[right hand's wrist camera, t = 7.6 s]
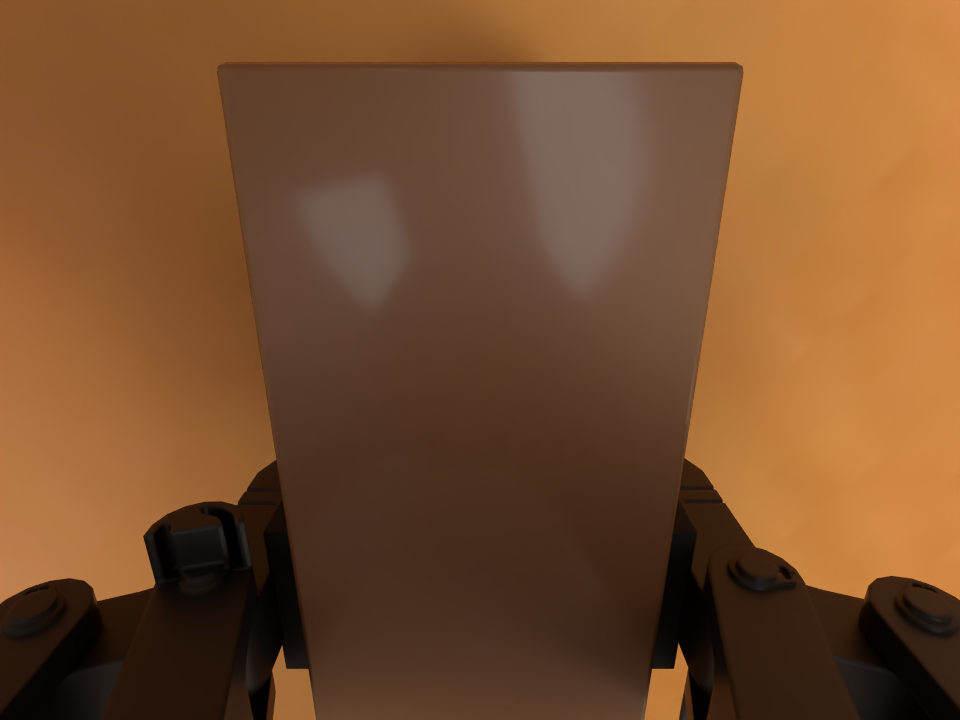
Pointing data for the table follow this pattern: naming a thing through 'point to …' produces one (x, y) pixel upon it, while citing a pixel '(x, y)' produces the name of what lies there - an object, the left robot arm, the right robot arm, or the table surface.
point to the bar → (480, 365)
